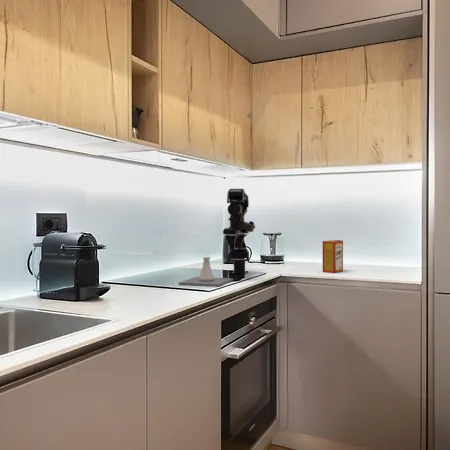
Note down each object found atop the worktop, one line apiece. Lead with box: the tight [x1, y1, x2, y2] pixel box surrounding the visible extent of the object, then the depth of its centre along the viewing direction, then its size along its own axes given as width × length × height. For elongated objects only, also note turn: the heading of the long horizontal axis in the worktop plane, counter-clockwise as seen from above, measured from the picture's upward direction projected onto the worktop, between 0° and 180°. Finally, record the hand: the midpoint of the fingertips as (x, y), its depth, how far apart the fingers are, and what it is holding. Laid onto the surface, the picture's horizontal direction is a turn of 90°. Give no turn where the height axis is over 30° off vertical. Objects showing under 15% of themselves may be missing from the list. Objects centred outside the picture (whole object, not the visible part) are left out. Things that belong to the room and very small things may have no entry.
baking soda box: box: [322, 239, 344, 274], centre depth 236 cm, size 10×6×16 cm
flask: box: [198, 256, 215, 281], centre depth 202 cm, size 7×7×10 cm
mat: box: [178, 276, 234, 288], centre depth 202 cm, size 18×18×1 cm
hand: (236, 249), depth 215 cm, fingers open, 9 cm apart
